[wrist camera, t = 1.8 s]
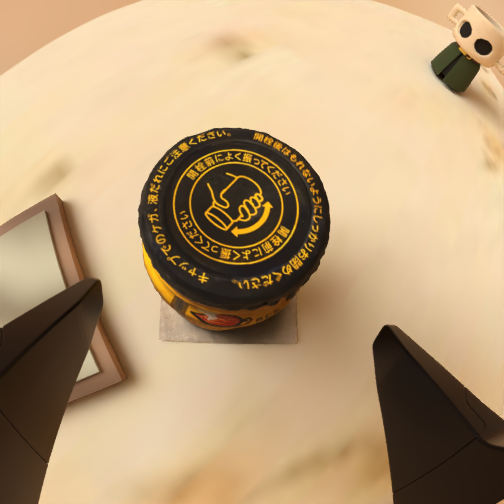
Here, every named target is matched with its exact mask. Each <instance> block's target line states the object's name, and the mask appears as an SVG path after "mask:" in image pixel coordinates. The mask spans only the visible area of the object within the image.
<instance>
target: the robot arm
mask: <svg viewBox="0 0 504 504" xmlns="http://www.w3.org/2000/svg"><path fill="white" fill-rule="evenodd" d="M102 307H103V295H102V285H101V281H100V280H99V279H97V278H92V277H87V278H85V279H83V280H81V281H79V282H77V283H76V284H74V285H72V286H70V287H68V288H67V289H65V290H63V291H61V292H60V293H58V294H56V295H54V296H53V297H51V298H49V299H47V300H46V301H44V302H42V303H40V304H39V305H37V306H35V307H34V308H32V309H30V310H29V311H27V312H25V313H24V314H22V315H20V316H19V317H17V318H15V319H14V320H12V321H10V322H9V323H7V324H5V325H4V326H3V328H2V327H0V504H38V502H39V498H40V494H41V490H42V486H43V482H44V478H45V474H46V470H47V467H48V464H47V463H49V459H50V456H51V452H52V449H53V446H54V442H55V439H56V436H57V433H58V430H59V427H60V424H61V421H62V418H63V415H64V412H65V410H66V407H67V404H68V401H69V399H70V396H71V393H72V391H73V388H74V385H75V383H76V380H77V378H78V375H79V373H80V370H81V368H82V365H83V363H84V361H85V358H86V356H87V353H88V351H89V348H90V345H91V342H92V338H93V335H94V332H95V329H96V325H97V322H98V319H99V316H100V313H101V310H102ZM373 357H374V366H375V376H376V385H377V391H378V397H379V402H380V407H381V413H382V419H383V425H384V431H385V437H386V444H387V450H388V458H389V465H390V473H391V482H392V491H393V503H394V504H504V420H503V419H502V418H501V417H499V416H498V415H497V414H496V413H495V412H493V411H492V410H491V409H490V408H488V407H487V406H486V405H485V404H484V403H482V402H481V401H480V400H479V399H478V398H477V397H476V396H475V395H473V394H472V393H471V392H470V391H469V390H468V389H467V388H466V387H464V385H463V384H461V383H460V382H459V381H458V380H457V379H456V378H455V377H454V376H453V375H452V374H450V373H449V372H448V371H447V370H446V369H445V368H444V367H443V366H442V365H440V364H439V363H438V362H437V361H436V360H435V359H434V358H433V357H431V356H430V355H429V354H428V353H427V352H426V351H425V350H424V349H422V348H421V347H420V346H419V345H418V344H417V343H416V342H414V341H413V340H412V339H411V338H410V337H409V336H408V335H406V334H405V333H404V332H403V331H402V330H401V329H399V328H398V327H397V326H395V325H384V326H383V327H382V329H381V331H380V332H379V334H378V336H377V337H376V339H375V340H374V343H373Z"/></svg>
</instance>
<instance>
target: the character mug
mask: <svg viewBox="0 0 504 504" xmlns="http://www.w3.org/2000/svg"><path fill="white" fill-rule="evenodd" d="M459 11H460V12H461V13H462V14H463V15H464V16H463V17H462V18H461V19H460V21H458V20H457V19H456V18H455V16H456V15H457V13H458V12H459ZM448 18H449V20H450V21H451V22H452V23H454V24H455V25H456V26H455V27H454V29H453V36H454V38H455V40H456V41H457V42H453V43H451V44H450V45H449V46H448V47H446V48H445V49H444V50H443V51H442V52H441V53H439V54H438V55H437V56H436V57H435V58H434V59H433V60H432V61H431V64H432V68H433V69H434V71H435V73H436V74H437V75H439V74H440V73H441V72H442V73H443V74H444V76H445V77H444V79H443V82H444V83H446V84H447V85H448V86H449V87H451V88H452V89H454V90H456V91H458V92H464V91H465V90H466V89H467V87H468V86H469V85H470V83H471V82H472V80H473V79H474V77H475V76H476V74H477V73H478V71H479V69H480V64H481V65H483V66H484V67H487V68H490V67H493V66H495V67H496V68H497V69H498V70H499V71H500V73H502V74H503V75H504V66H502V65H501V64H500V63H499V62H498V61H499V60H500V59H501V57H502V56H503V55H504V28H503V27H502V26H501V25H500V24H499V23H498V22H497V21H496V20H495V19H494V18H493V17H491V16H490V15H489V14H488V13H486V12H485V11H484V10H483V9H481V8H480V7H478V6H477V5H475V4H473V5H472V6H471V7H470V8H469V9H468V10H466V9H464V7H462V6H461V5H460V4H458V3H457V4H456V5H455V6H454V7H453V9H452V10H451V11H450V13H449V14H448Z"/></svg>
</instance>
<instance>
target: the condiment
mask: <svg viewBox="0 0 504 504" xmlns="http://www.w3.org/2000/svg"><path fill="white" fill-rule="evenodd" d="M138 212H139V218H138V224H139V228H140V236H141V238H142V246H143V258H144V265H145V267H146V270H147V272H148V275H149V277H150V279H151V281H152V283H153V285H154V288H155V289H156V291H158V292H159V294H160V296H161V314H160V336H159V340H171V341H187V342H207V343H230V344H231V343H237V344H297V327H296V326H297V319H296V293H297V292H298V291H299V288H300V287H301V286H303V285H304V284H305V283H306V282H307V281H308V280H309V278H310V276H311V275H312V274H313V273H314V272H315V271H316V270H317V269H318V266H319V265H320V259H321V258H322V256H323V255H324V254H325V249H326V247H327V244H328V241H329V232H330V214H329V202H328V198H327V195H326V192H325V189H324V187H323V183H322V181H321V179H320V177H319V175H318V174H317V173H316V172H315V170H314V169H313V168H312V167H311V165H310V164H309V163H308V162H307V160H306V159H305V158H304V157H303V156H302V155H301V154H300V153H299V152H298V151H296V150H295V149H293V148H292V147H290V146H289V145H287V144H285V143H283V142H282V141H280V140H278V139H276V138H274V137H272V136H271V135H269V134H267V133H264V132H258V131H255V130H249V129H242V128H214V129H211V130H208V131H206V132H203V133H200V134H197V135H193V136H189V137H186V138H184V139H182V140H181V141H179V142H178V143H177V144H175V145H174V146H173V147H172V148H170V149H169V150H168V151H167V152H166V153H165V155H164V156H163V157H162V158H161V159H160V160H159V161H158V163H157V164H156V165H155V167H154V168H153V170H152V172H151V173H150V175H149V178H148V180H147V182H146V183H145V185H144V188H143V190H142V194H141V202H140V205H139V208H138Z"/></svg>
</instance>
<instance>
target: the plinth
mask: <svg viewBox="0 0 504 504" xmlns="http://www.w3.org/2000/svg"><path fill="white" fill-rule="evenodd" d="M83 279H85V278H84V275H83V272H82V269H81V266H80V263H79V260H78V257H77V254H76V251H75V248H74V244H73V241H72V237H71V234H70V230H69V227H68V223H67V219H66V215H65V211H64V207H63V203H62V200H61V199H60V198H59V197H58V196H57V195H56V193H55V194H53V195H52V196H50V197H48V198H46V199H44V200H43V201H41V202H39V203H37V204H36V205H34V206H32V207H30V208H29V209H27V210H25V211H24V212H22V213H20V214H19V215H17V216H15V217H14V218H12V219H11V220H9V221H7V222H6V223H4V224H3V225H1V226H0V327H2V328H3V326H4V325H5V324H7V323H9V322H10V321H12V320H14V319H15V318H17V317H19V316H20V315H22V314H24V313H25V312H27V311H29V310H30V309H32V308H34V307H35V306H37V305H39V304H40V303H42V302H44V301H46V300H47V299H49V298H51V297H53V296H54V295H56V294H58V293H60V292H61V291H63V290H65V289H67V288H68V287H70V286H72V285H74V284H76V283H77V282H79V281H81V280H83ZM126 378H127V377H126V375H125V373H124V371H123V369H122V367H121V365H120V363H119V361H118V359H117V357H116V354H115V352H114V350H113V348H112V346H111V344H110V341H109V339H108V337H107V334H106V332H105V330H104V327H103V325H102V323H101V320H100V318H99V319H98V322H97V325H96V329H95V332H94V335H93V338H92V342H91V345H90V348H89V351H88V353H87V356H86V358H85V361H84V363H83V365H82V368H81V370H80V373H79V375H78V378H77V380H76V383H75V385H74V388H73V391H72V393H71V396H70V399H69V401H68V402H71V401H73V400H76V399H78V398H81V397H83V396H86V395H88V394H91V393H93V392H96V391H98V390H101V389H103V388H106V387H108V386H111V385H113V384H115V383H118V382H120V381H122V380H124V379H126Z"/></svg>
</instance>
